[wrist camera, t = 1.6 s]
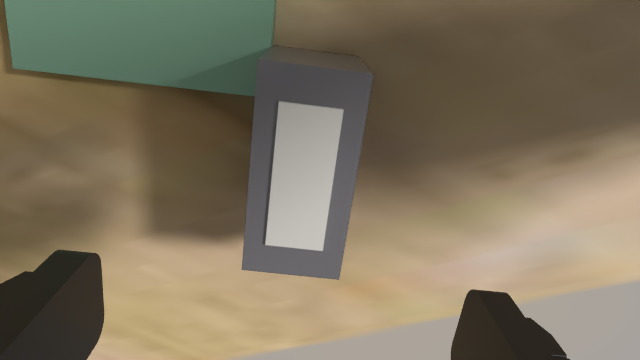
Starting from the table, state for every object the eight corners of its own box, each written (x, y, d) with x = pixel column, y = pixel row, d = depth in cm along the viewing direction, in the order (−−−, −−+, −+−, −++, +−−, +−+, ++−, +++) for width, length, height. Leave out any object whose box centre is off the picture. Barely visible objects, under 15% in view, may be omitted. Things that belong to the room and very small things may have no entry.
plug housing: (357, 56, 22) (374, 74, 16) (332, 214, 25) (339, 281, 19) (273, 45, 22) (257, 59, 16) (259, 206, 25) (241, 271, 19)
